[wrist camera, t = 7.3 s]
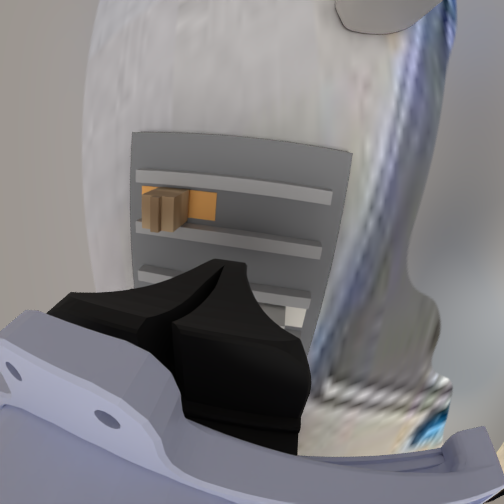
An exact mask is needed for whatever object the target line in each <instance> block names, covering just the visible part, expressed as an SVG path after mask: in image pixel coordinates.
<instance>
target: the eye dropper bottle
mask: <svg viewBox="0 0 504 504" xmlns="http://www.w3.org/2000/svg"><path fill="white" fill-rule="evenodd" d="M441 1H442V0H337V1H336V4H335V7H336V10H337V13H338V15H339V17H340V19H341V21H342V23H343V24H344V26H345V27H346V28H347V29H349V30H352V31H355V32H361V33H368V34H389V33H394V32H398V31H401V30H404V29H406V28H408V27H410V26H412V25H413V24H415V23H416V22H417V21H418V20H419V19H421V18H422V17H423V16H424V15H425V14H427V13H428V12H429V11H430V10H431V9H433V8H434V7H435V6H436V5H438V4H439V3H440V2H441Z"/></svg>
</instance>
